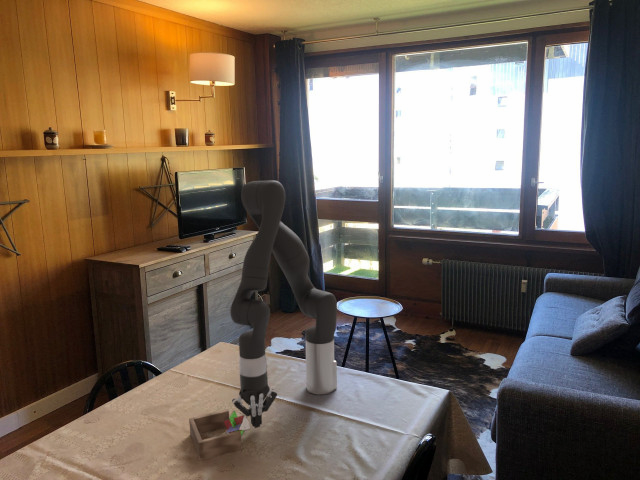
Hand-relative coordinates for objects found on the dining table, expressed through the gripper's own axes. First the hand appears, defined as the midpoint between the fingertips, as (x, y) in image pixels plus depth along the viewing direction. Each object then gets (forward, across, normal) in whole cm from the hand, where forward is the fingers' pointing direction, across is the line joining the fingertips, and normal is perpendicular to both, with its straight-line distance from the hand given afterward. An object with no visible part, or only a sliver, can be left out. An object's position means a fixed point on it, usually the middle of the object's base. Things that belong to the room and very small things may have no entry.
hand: (256, 426), depth 145 cm
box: (+1, +11, 0) cm, 11 cm away
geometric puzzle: (+2, +6, 0) cm, 6 cm away
